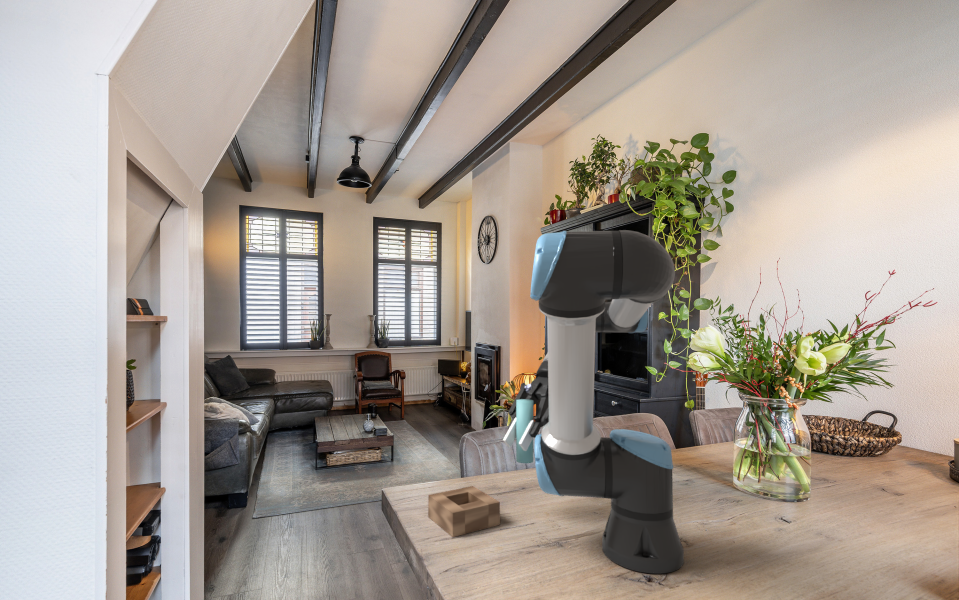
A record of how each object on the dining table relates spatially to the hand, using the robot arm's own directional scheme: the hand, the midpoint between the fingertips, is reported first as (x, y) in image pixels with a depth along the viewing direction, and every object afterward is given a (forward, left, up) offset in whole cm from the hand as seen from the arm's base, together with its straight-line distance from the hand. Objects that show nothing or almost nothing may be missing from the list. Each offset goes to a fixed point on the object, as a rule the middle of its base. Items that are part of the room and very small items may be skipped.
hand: (514, 445), depth 105 cm
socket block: (+7, +9, -17) cm, 21 cm away
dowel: (+1, -4, -4) cm, 6 cm away
